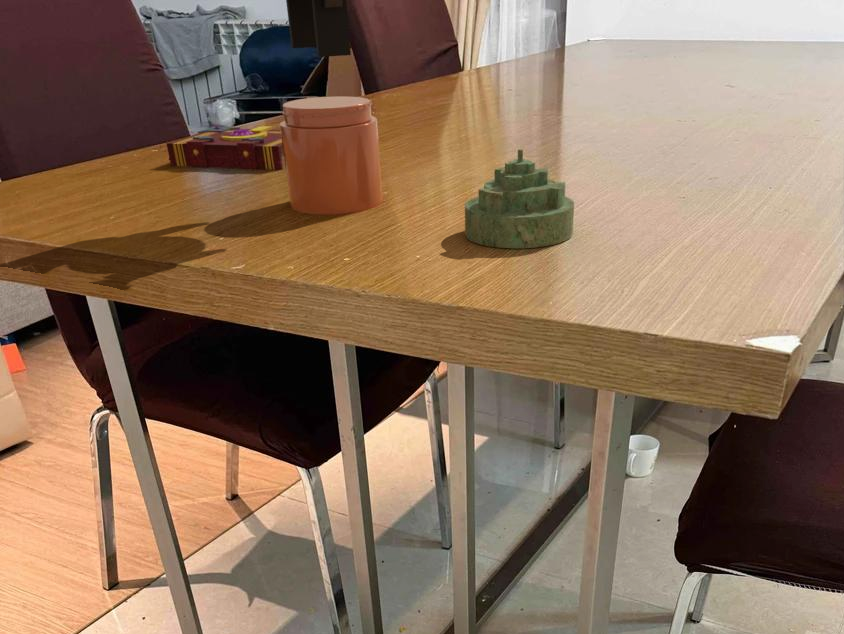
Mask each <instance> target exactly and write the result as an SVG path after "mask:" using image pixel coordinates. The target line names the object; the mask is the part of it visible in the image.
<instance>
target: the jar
mask: <svg viewBox="0 0 844 634" xmlns="http://www.w3.org/2000/svg"><path fill="white" fill-rule="evenodd" d="M372 105H373V101H372V100H371V99H369V98H366V97H361V96H347V95H346V96H345V95H343V96H337V95H335V96H319V97H317V96H316V97H307V98H299V99H294V100H289V101H286V102H284V103H283V104H282V110H283V111H282V116H283V117H284V120H282V121H281V122H280V123H279V128H280V129H279V130H281V137H282V145H283V152H284V159H285V167H284V168H285V173H286V180H287V181H286V182H287V187H288V196H289V203H290V208H291V209H292V210H294V211H295V212H298V213H304V214H309V215H344V214H353V213H358V212H364V211H368V210H371V209H374V208H377V207H379V206H380V205H382V204H383V202H384V195H383V182H382V169H381V168H382V167H381V154H380V139H379V138H380V137H379V129H378V128H379V127H378V126H379V125H378V118H377V117H376V116H373V115H372Z"/></svg>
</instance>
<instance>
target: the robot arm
mask: <svg viewBox="0 0 844 634" xmlns="http://www.w3.org/2000/svg"><path fill="white" fill-rule="evenodd" d="M285 2H286V10H287V18H288V19H287V20H288V28H289V36H290V37H289V38H290V44H291V49H303V48H305V49H306V48H316V55H317V57H318V58H327V57H340V56H341V57H342V56H351V55H352V53H351V52H352V51H351V39H350V27H349V17H348V16H349V15H348V14H349V13H348V3H347V0H285Z"/></svg>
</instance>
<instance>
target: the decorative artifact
mask: <svg viewBox="0 0 844 634" xmlns="http://www.w3.org/2000/svg"><path fill="white" fill-rule="evenodd" d="M523 157H524V149H521V148H520V149H517V158H515V159H512V160H510V161H508V162H505V163H504V166H503V167H498V168H495V169H494V178H493V179H490V180H487V181H486V182H484V183H483V188H479V189H478V196H476V197H473V198H470V199H468V200H467V201H466V202H465V203H464V235H465V237H466V239H467V240H468V241H470V242H472V243H474V244H477V245H481V246H484V247H491V248H497V249H514V250H515V249H516V250H517V249H520V250H521V249H536V248H542V247H549V246H550V247H551V246H554V245H557V244H560V243H564V242H565V241H567V240H569V239H571V237H572V236H573V232H574V215H575V201H574V200H573V199H572V198H570V197H568V196H566V185H567V184H566V182H565V181H564V182H555V180H552V179H550V178H549V170H548V169H546V167H545V168H536V162H533V161H531V160H529V159H525V158H523Z"/></svg>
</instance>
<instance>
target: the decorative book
mask: <svg viewBox="0 0 844 634" xmlns="http://www.w3.org/2000/svg"><path fill="white" fill-rule="evenodd" d="M166 147H167V148H166V149H167V153H168V161H169V163H170V166H171V167H187V168H188V167H189V168H199V169H200V168H202V169H203V168H204V169H207V168H215V169H217V168H219V169H240V170H255V171H256V170H270V171H272V170H273V171H282V170H284V168H286V167H285V159H284V152H283V145H282V137H281V130H280V129H273V126H270V125H269V126H266V125H259V126H258V127H255V128H241V126H219V125H215V126H214V125H213V126H210V127H208V128H205V129H202V130H201V129H200V130H199V131H197V133H194V134H192V135H188V136H186V137H185V136H184V137H182V138H178V139H176V140H173V141H170V142H166Z"/></svg>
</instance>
